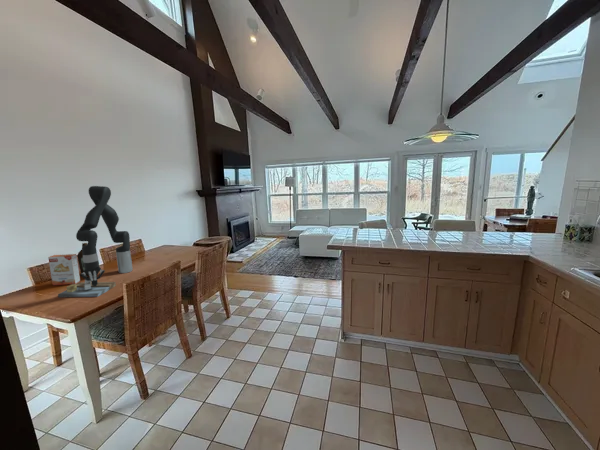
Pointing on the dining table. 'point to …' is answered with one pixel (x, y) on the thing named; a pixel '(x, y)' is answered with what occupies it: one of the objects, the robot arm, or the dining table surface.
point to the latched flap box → (80, 291)
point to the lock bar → (87, 284)
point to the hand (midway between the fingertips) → (95, 285)
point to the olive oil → (81, 260)
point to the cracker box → (64, 269)
